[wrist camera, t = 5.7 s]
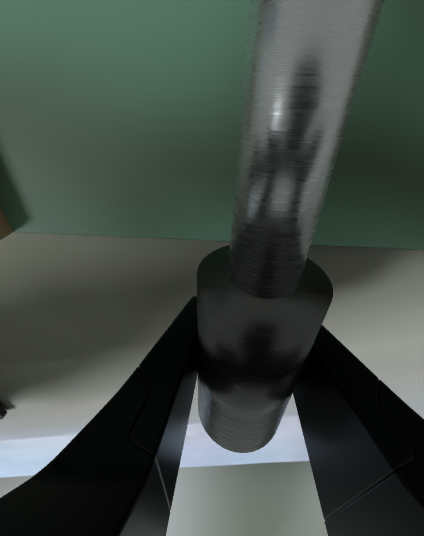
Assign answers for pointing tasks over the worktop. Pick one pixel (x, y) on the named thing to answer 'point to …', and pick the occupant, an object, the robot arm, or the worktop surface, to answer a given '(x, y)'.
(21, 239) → the worktop surface
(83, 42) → the pitch
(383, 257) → the worktop surface
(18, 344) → the worktop surface
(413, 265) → the worktop surface
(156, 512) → the robot arm
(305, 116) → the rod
